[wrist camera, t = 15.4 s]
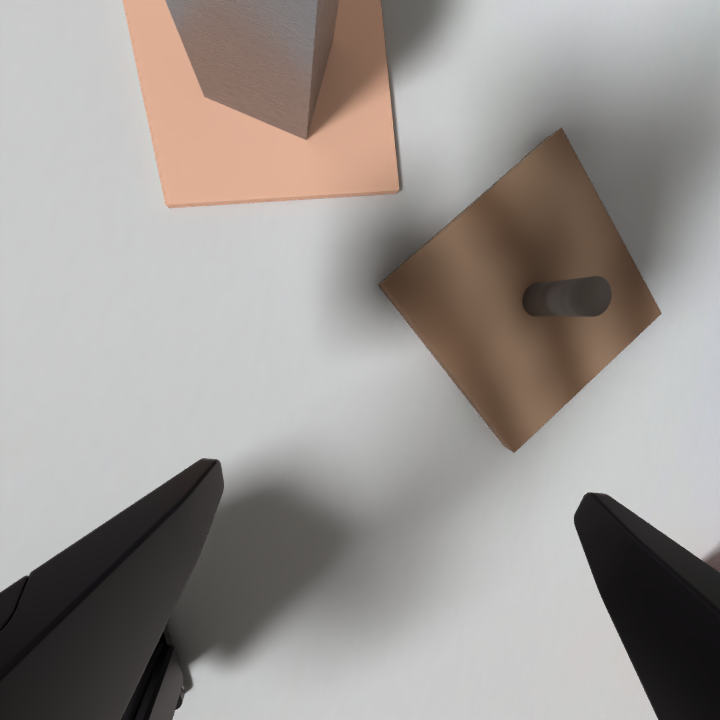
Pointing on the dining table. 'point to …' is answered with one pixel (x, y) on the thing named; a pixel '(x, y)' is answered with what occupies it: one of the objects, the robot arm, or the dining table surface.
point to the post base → (493, 282)
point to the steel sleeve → (259, 54)
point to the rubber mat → (258, 139)
